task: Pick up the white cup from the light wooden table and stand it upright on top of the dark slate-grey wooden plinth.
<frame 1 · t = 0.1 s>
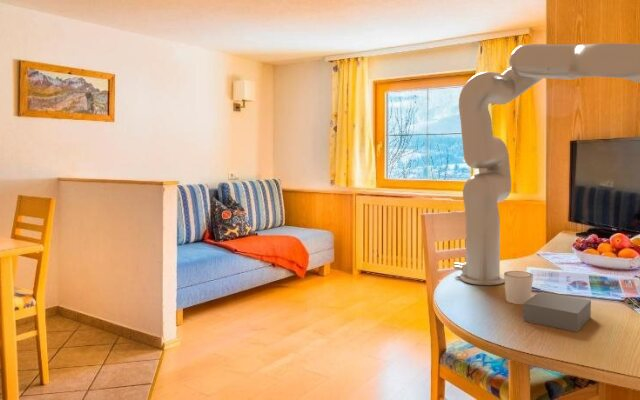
slate plinth: (557, 319, 107), on the table
white cup: (518, 301, 120), on the table
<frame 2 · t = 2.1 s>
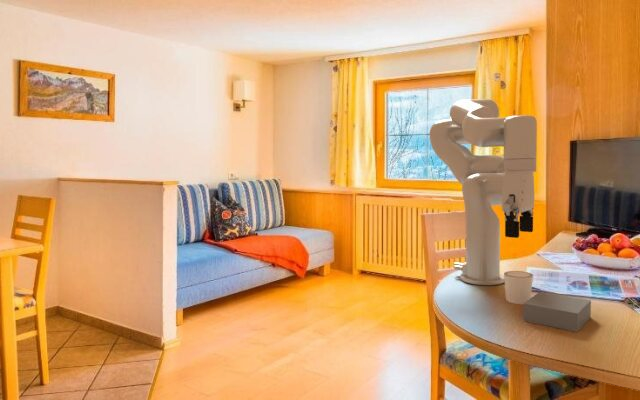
hand: (519, 234, 118), 17 cm above the table, fingers open, 9 cm apart
nothing on the table moved.
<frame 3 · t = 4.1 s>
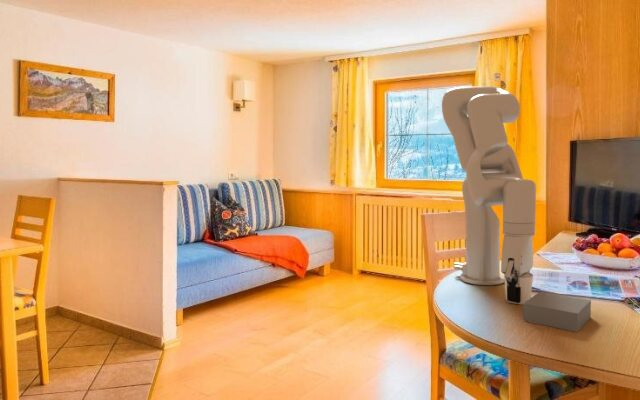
hand: (518, 298, 120), 1 cm above the table, fingers closed on white cup, 5 cm apart
white cup: (518, 301, 120), on the table, touching gripper
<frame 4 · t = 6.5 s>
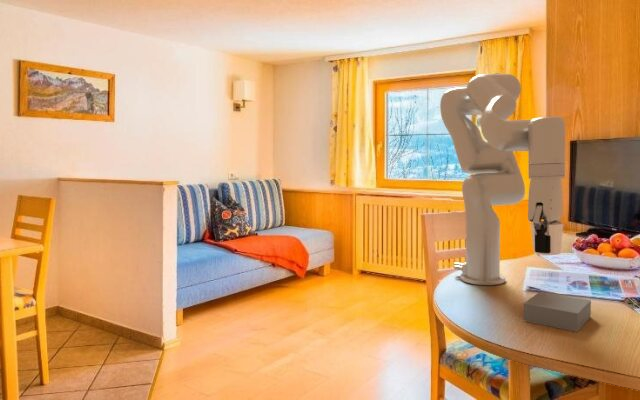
hand: (546, 249, 109), 15 cm above the table, fingers closed on white cup, 5 cm apart
white cup: (546, 253, 109), point 14 cm above the table, touching gripper
when the fingers open (6 cm above the table, at t = 9.1 s): white cup drops 1 cm, resting on slate plinth.
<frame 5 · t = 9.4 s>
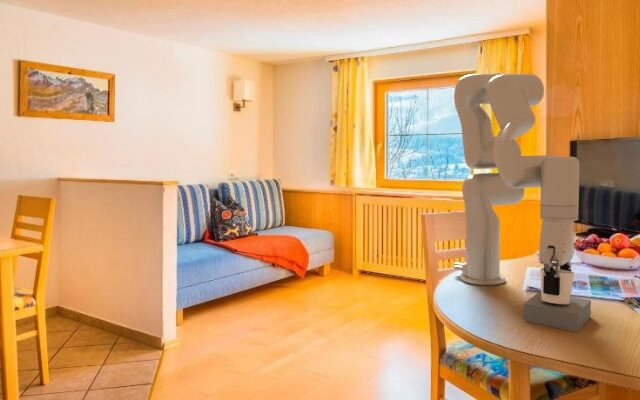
hand: (557, 289, 106), 7 cm above the table, fingers open, 8 cm apart
white cup: (555, 302, 106), point 4 cm above the table, touching gripper, slate plinth
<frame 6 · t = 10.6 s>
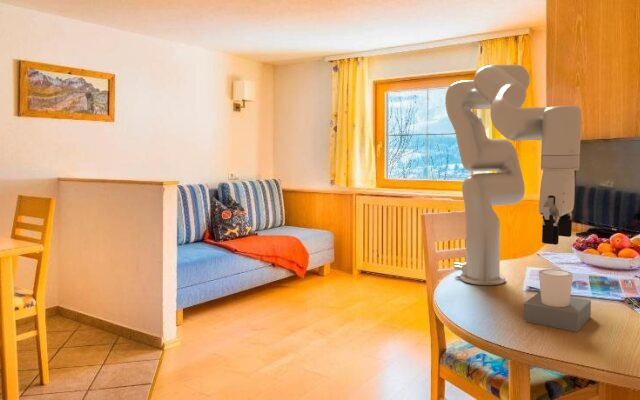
hand: (556, 239, 105), 18 cm above the table, fingers open, 9 cm apart
white cup: (555, 303, 106), point 4 cm above the table, touching slate plinth
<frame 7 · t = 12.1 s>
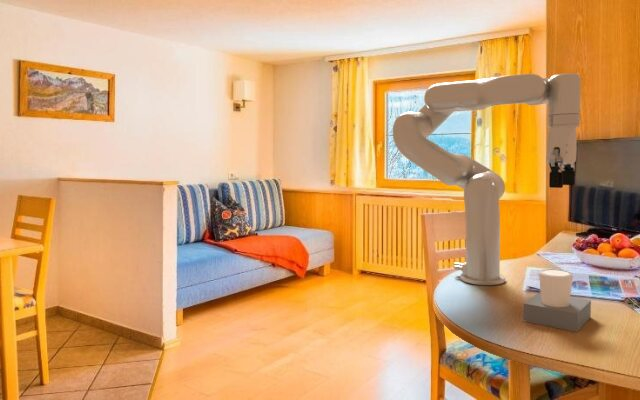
hand: (562, 186, 127), 28 cm above the table, fingers open, 9 cm apart
nothing on the table moved.
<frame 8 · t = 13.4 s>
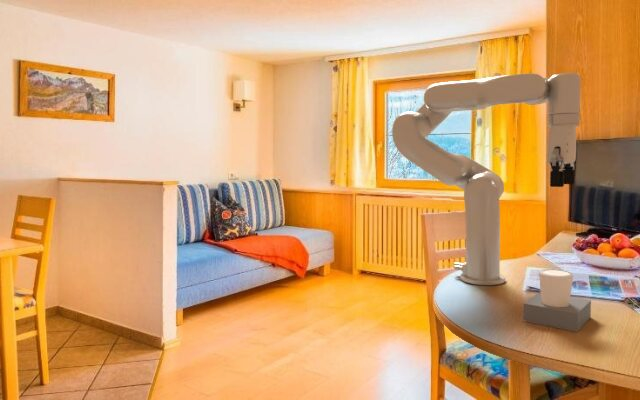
hand: (562, 185, 127), 28 cm above the table, fingers open, 9 cm apart
nothing on the table moved.
at the end: white cup inside the target area on the slate plinth (1.2 cm from its centre), point 3.8 cm above the slate plinth's base; white cup tilted 0°; the gripper is holding nothing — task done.
